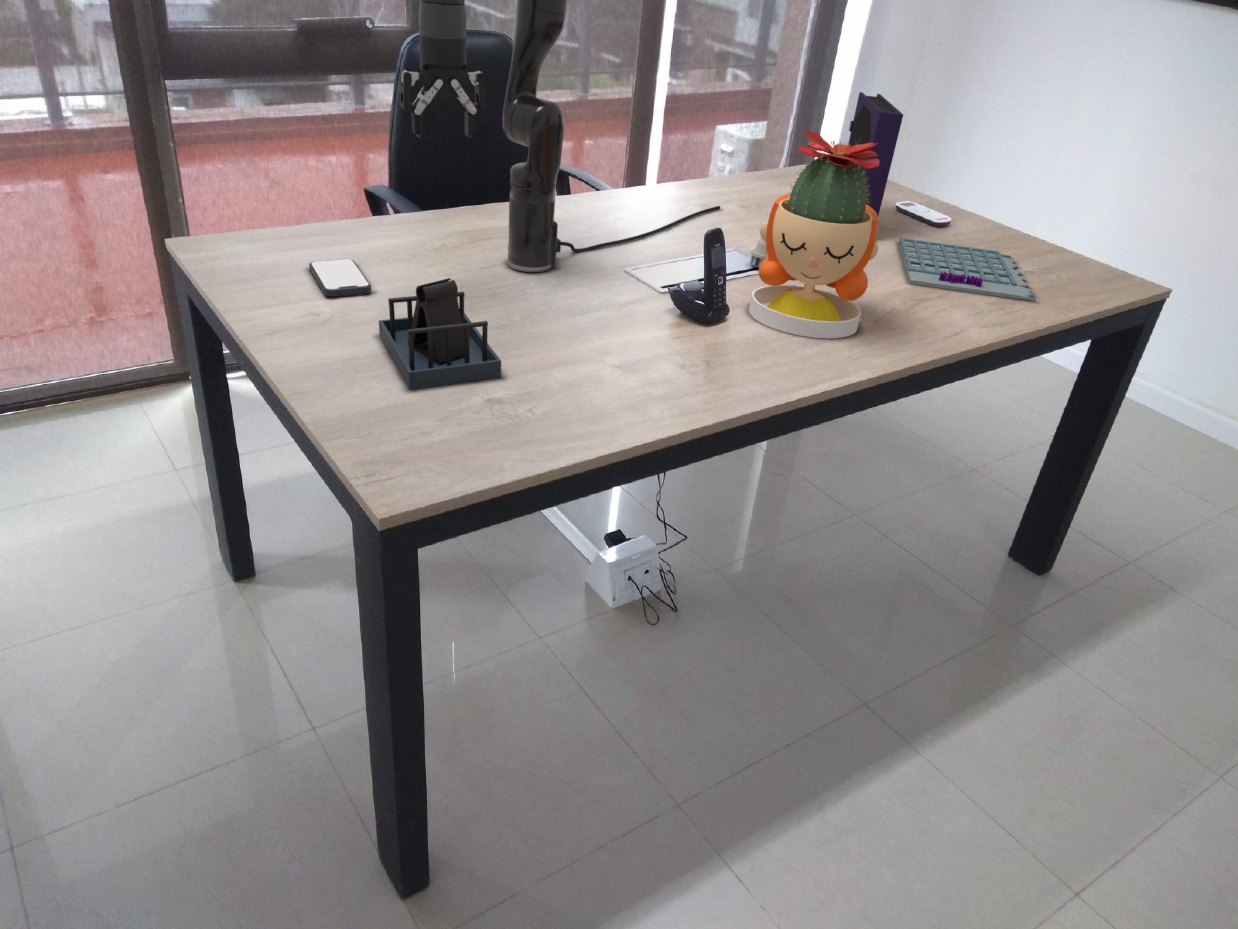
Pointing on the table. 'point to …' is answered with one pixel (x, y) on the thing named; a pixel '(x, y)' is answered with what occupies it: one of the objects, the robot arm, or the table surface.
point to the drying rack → (422, 369)
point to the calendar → (963, 269)
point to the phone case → (339, 277)
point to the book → (876, 141)
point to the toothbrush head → (759, 253)
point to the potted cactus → (819, 244)
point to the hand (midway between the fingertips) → (444, 136)
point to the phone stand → (438, 319)
